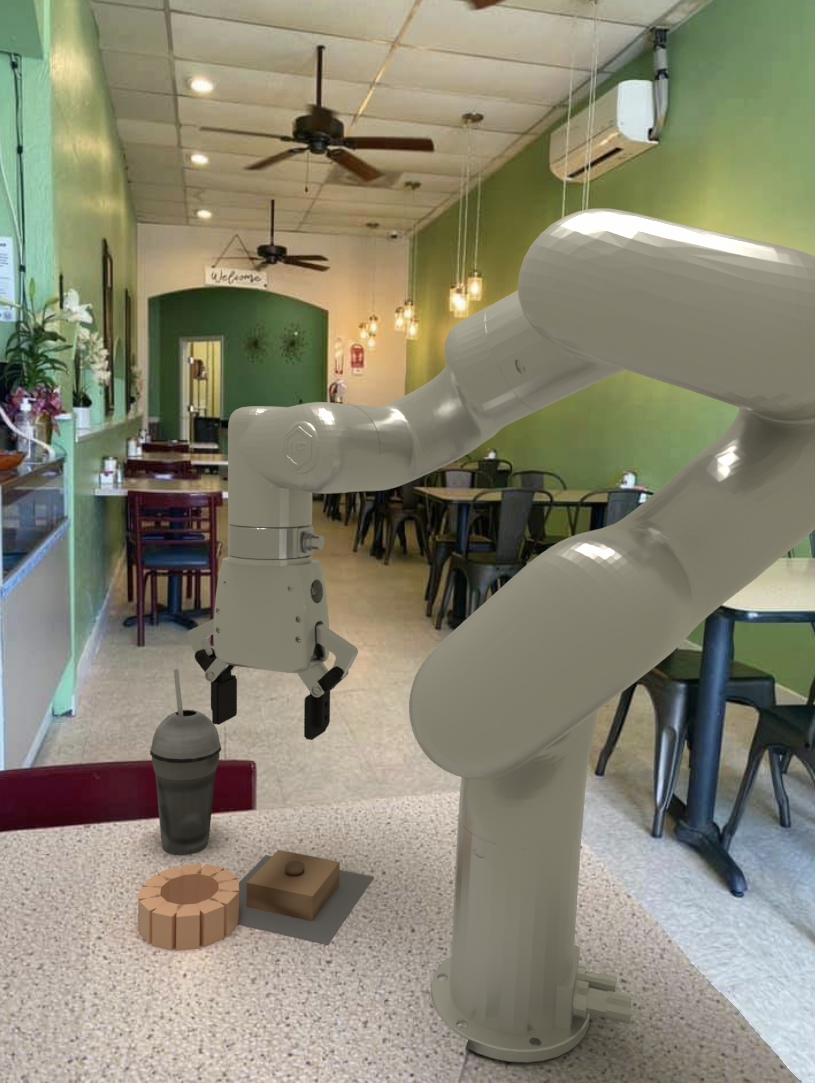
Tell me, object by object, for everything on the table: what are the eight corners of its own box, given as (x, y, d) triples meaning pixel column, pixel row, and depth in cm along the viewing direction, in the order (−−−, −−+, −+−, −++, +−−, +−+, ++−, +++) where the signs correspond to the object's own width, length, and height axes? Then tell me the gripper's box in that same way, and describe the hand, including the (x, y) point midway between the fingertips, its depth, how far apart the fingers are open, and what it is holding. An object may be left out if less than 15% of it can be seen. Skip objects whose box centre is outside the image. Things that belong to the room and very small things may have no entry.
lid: (339, 884, 80) (339, 855, 80) (311, 921, 74) (312, 890, 74) (277, 872, 82) (278, 843, 82) (246, 906, 76) (246, 876, 75)
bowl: (255, 914, 76) (255, 874, 76) (206, 969, 68) (206, 925, 68) (174, 896, 79) (174, 857, 78) (118, 947, 71) (118, 904, 70)
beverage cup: (201, 874, 83) (203, 683, 81) (136, 865, 84) (136, 676, 82) (231, 841, 90) (233, 664, 88) (170, 833, 91) (171, 658, 89)
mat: (373, 886, 82) (374, 876, 82) (327, 955, 71) (328, 944, 71) (265, 864, 86) (266, 855, 85) (205, 926, 74) (205, 916, 74)
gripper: (374, 546, 75) (370, 728, 76) (213, 535, 81) (213, 704, 82) (338, 555, 68) (335, 755, 69) (165, 542, 74) (166, 726, 76)
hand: (269, 727), depth 76 cm, fingers open, 9 cm apart
